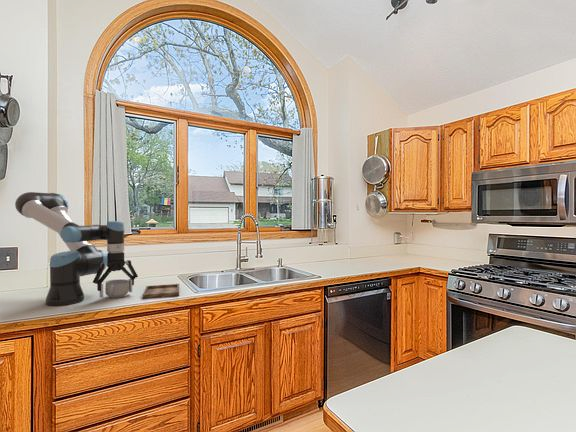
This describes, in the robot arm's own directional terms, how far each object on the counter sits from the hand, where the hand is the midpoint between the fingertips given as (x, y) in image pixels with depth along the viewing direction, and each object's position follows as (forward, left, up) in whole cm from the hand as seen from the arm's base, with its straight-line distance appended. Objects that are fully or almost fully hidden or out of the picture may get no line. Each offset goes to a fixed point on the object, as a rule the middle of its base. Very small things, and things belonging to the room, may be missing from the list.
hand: (116, 294), depth 163 cm
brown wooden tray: (+20, -8, -1) cm, 21 cm away
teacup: (0, 0, -2) cm, 2 cm away
